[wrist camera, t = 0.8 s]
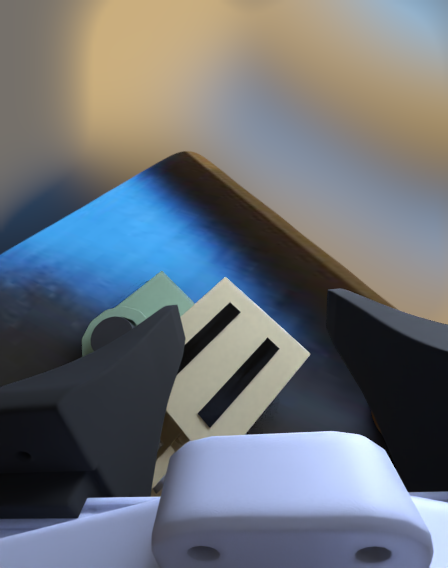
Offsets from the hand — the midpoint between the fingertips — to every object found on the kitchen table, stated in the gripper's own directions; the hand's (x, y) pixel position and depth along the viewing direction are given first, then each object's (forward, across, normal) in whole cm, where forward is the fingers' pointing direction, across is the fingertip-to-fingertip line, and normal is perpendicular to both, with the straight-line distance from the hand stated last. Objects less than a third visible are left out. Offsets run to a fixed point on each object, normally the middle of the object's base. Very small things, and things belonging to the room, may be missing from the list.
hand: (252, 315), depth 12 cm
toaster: (+10, +4, +13) cm, 17 cm away
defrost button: (+10, +14, +7) cm, 18 cm away
